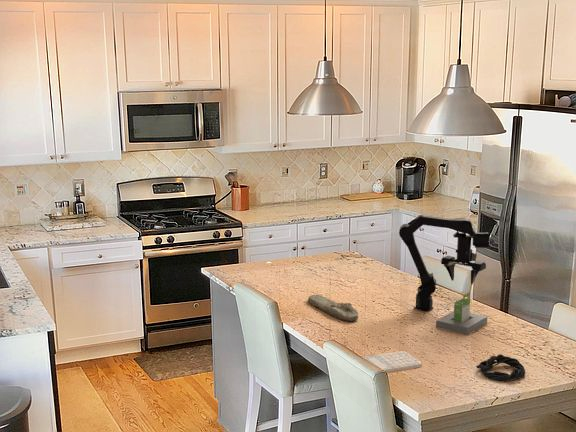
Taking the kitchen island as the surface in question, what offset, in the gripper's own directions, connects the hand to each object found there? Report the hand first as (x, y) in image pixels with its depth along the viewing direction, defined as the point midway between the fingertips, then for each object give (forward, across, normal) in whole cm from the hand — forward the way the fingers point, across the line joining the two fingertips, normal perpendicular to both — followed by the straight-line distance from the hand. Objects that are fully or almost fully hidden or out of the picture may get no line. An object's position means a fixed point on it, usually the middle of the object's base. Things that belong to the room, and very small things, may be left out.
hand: (462, 282), depth 321 cm
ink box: (+13, -9, +17) cm, 23 cm away
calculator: (+14, -8, +71) cm, 73 cm away
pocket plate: (+13, -9, +17) cm, 23 cm away
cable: (+14, -43, +52) cm, 69 cm away
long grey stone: (+14, +43, +36) cm, 58 cm away
